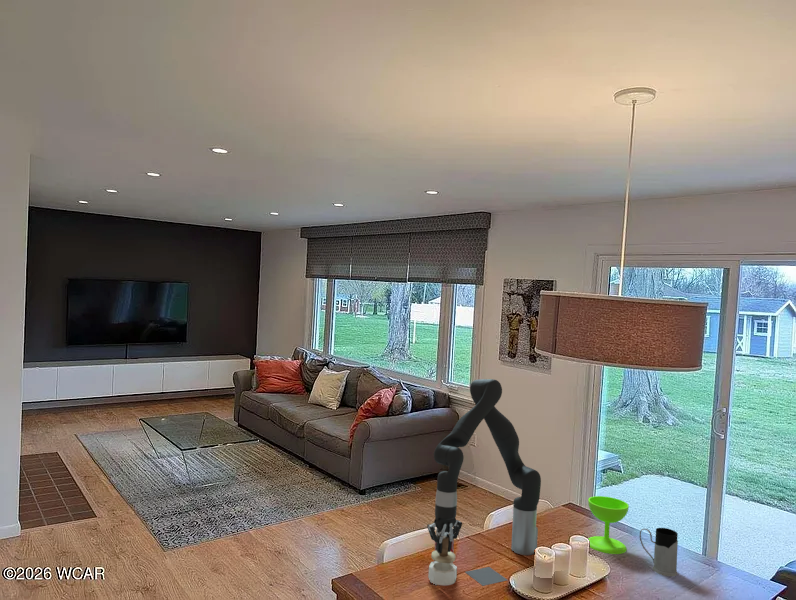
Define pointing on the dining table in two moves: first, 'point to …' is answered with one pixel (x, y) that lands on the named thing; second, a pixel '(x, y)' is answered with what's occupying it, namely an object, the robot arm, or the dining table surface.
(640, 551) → the dining table surface
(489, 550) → the dining table surface
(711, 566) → the dining table surface
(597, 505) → the wineglass
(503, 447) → the robot arm
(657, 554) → the glass holder
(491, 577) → the mat
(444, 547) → the lid
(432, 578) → the bowl
